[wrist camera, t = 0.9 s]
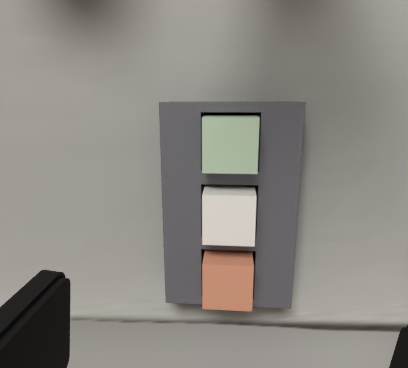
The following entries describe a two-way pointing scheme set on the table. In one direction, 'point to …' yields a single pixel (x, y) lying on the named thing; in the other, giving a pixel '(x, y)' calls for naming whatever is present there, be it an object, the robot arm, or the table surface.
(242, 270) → the terracotta key
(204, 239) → the cream key
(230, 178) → the keypad
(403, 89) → the table surface
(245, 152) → the sage key
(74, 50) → the table surface
